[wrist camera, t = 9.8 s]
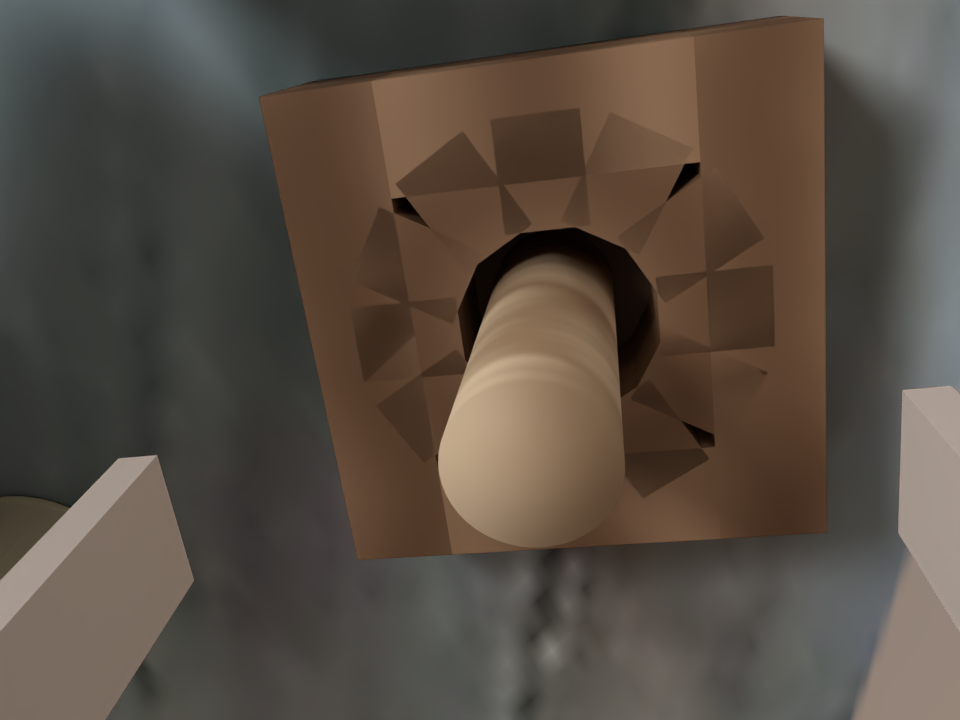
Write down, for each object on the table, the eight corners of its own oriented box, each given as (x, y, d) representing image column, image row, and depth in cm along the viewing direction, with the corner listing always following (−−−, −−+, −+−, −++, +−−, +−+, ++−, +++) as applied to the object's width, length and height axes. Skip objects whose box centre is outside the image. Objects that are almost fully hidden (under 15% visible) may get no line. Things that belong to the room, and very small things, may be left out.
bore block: (389, 482, 33) (357, 560, 28) (312, 81, 28) (258, 96, 24) (790, 453, 31) (826, 532, 26) (781, 15, 26) (823, 18, 22)
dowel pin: (506, 344, 30) (453, 552, 19) (490, 236, 28) (423, 391, 17) (618, 333, 29) (633, 541, 18) (606, 222, 28) (615, 372, 17)
